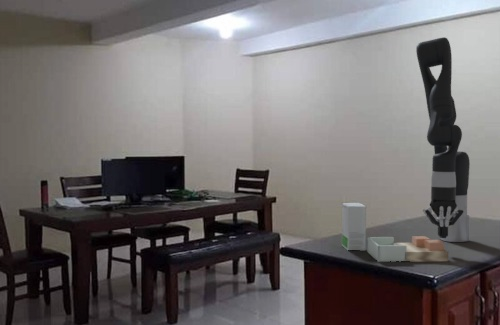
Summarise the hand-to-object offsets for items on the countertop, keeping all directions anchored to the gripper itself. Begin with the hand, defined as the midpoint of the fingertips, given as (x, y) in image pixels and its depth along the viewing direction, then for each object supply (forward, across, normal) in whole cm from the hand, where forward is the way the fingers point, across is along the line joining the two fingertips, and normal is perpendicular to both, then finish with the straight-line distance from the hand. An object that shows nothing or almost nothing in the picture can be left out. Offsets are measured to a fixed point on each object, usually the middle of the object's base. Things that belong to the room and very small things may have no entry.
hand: (442, 237), depth 162 cm
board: (+6, +8, +3) cm, 11 cm away
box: (+6, +19, +4) cm, 21 cm away
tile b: (+2, +5, +6) cm, 8 cm away
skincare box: (+6, +27, -9) cm, 29 cm away
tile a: (+2, +7, 0) cm, 8 cm away
